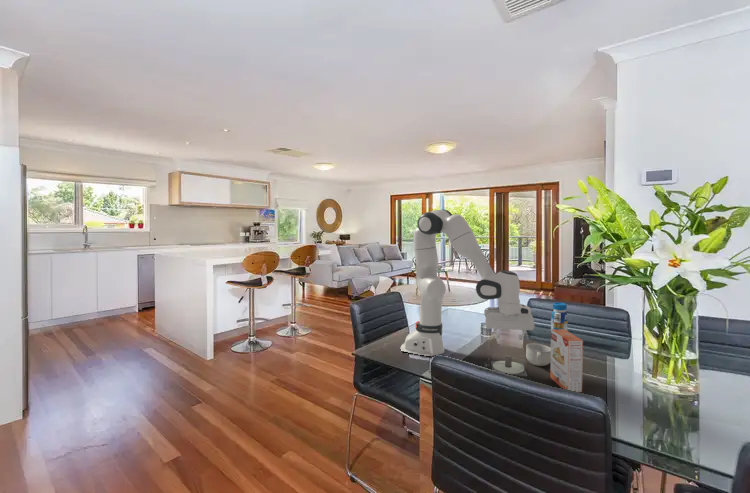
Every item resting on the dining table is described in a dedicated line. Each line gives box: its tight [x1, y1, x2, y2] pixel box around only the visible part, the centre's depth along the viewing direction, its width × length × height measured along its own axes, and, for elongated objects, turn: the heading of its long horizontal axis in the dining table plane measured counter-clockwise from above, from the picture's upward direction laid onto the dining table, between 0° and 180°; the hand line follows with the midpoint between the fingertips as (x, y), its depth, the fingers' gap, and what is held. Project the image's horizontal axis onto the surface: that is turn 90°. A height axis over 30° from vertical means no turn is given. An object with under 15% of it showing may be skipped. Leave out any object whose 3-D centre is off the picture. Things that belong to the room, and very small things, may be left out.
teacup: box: [525, 342, 551, 367], centre depth 160 cm, size 14×11×8 cm
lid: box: [493, 354, 525, 375], centre depth 156 cm, size 13×13×5 cm
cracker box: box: [549, 329, 584, 393], centre depth 138 cm, size 14×6×21 cm, turn 178°
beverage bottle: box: [550, 302, 569, 332], centre depth 194 cm, size 8×8×20 cm
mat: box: [490, 360, 528, 377], centre depth 156 cm, size 14×14×1 cm
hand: (509, 338), depth 155 cm, fingers open, 8 cm apart
